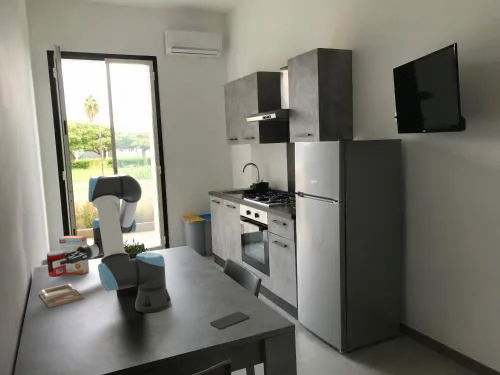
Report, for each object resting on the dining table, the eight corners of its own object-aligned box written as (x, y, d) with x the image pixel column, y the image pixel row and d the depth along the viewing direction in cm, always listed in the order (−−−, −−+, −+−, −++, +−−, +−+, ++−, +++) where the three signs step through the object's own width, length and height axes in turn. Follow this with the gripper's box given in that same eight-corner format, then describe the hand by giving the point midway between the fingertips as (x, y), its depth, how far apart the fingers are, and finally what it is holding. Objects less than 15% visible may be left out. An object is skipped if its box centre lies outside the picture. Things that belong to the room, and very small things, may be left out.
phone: (208, 322, 153) (238, 311, 162) (208, 324, 153) (239, 313, 162) (219, 329, 147) (250, 316, 157) (219, 331, 147) (250, 318, 157)
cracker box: (89, 271, 227) (87, 235, 225) (83, 274, 222) (80, 238, 220) (68, 270, 231) (65, 235, 229) (61, 273, 225) (58, 237, 223)
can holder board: (84, 298, 184) (83, 293, 184) (48, 307, 175) (48, 302, 175) (71, 287, 201) (71, 282, 201) (38, 294, 192) (38, 289, 192)
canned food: (69, 271, 193) (67, 249, 192) (60, 277, 185) (58, 254, 184) (55, 272, 194) (53, 250, 193) (45, 277, 186) (43, 254, 185)
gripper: (101, 260, 201) (62, 274, 180) (74, 257, 210) (33, 269, 190) (100, 246, 200) (61, 258, 180) (72, 243, 209) (32, 254, 189)
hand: (47, 264), depth 185 cm, fingers closed on canned food, 8 cm apart
